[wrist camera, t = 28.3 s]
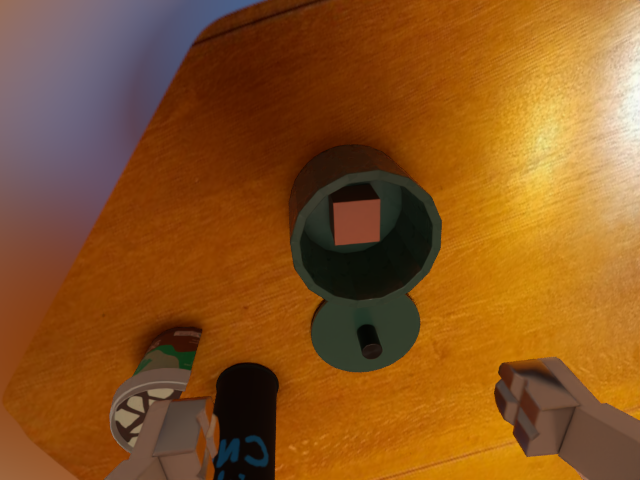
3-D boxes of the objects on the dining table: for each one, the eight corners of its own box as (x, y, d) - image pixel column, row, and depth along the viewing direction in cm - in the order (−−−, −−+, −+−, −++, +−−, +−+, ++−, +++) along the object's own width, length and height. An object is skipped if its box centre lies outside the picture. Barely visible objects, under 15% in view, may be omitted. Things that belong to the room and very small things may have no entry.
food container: (154, 304, 43) (119, 370, 34) (206, 320, 44) (186, 386, 35) (128, 378, 47) (91, 453, 38) (176, 390, 49) (152, 464, 40)
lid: (298, 357, 48) (299, 385, 44) (329, 269, 43) (333, 292, 38) (393, 372, 51) (403, 400, 47) (434, 291, 45) (449, 315, 41)
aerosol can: (282, 403, 52) (281, 586, 34) (222, 410, 51) (189, 600, 33) (274, 359, 48) (269, 539, 30) (210, 366, 47) (166, 553, 30)
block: (329, 226, 40) (335, 245, 36) (327, 187, 38) (333, 203, 34) (370, 223, 40) (379, 241, 36) (370, 184, 38) (380, 198, 34)
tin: (277, 243, 40) (275, 292, 32) (308, 129, 35) (316, 151, 27) (382, 266, 43) (407, 318, 35) (426, 163, 38) (467, 194, 29)
